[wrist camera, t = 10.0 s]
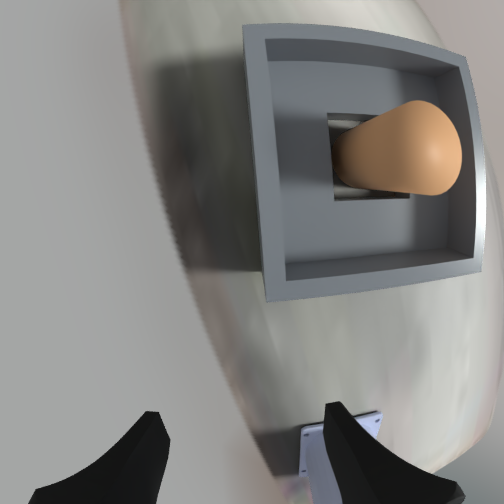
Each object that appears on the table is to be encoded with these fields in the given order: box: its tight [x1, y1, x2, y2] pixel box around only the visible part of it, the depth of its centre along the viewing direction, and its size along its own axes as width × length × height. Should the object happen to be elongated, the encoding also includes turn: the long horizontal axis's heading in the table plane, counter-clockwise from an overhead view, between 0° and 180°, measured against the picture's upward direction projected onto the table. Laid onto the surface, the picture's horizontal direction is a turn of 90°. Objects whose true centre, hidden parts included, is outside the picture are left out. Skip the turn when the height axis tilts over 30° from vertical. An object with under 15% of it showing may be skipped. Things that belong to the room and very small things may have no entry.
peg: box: [331, 100, 462, 195], centre depth 13 cm, size 4×4×8 cm
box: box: [242, 23, 486, 302], centre depth 15 cm, size 14×14×5 cm
